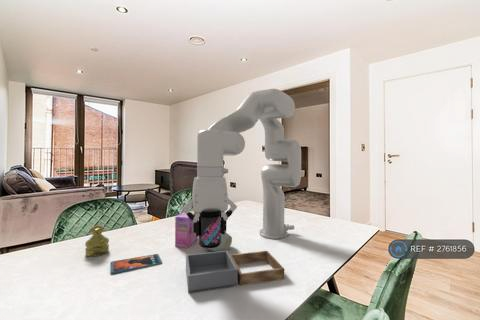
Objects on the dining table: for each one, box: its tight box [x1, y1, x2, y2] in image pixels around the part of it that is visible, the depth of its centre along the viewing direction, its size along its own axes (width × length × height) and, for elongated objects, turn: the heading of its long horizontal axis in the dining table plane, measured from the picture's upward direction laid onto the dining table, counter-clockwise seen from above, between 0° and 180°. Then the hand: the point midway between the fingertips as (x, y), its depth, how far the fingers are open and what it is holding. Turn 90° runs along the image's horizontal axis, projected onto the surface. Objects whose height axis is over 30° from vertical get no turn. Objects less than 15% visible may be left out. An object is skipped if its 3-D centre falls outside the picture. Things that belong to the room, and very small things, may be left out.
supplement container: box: [197, 210, 222, 249], centre depth 69 cm, size 7×7×10 cm
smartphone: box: [109, 253, 163, 275], centre depth 77 cm, size 8×1×15 cm
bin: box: [185, 250, 239, 294], centre depth 69 cm, size 13×13×4 cm
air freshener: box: [206, 229, 233, 252], centre depth 89 cm, size 11×8×10 cm
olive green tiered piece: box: [84, 224, 110, 258], centre depth 86 cm, size 7×7×10 cm
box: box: [174, 210, 198, 249], centre depth 96 cm, size 10×6×12 cm, turn 168°
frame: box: [229, 250, 285, 286], centre depth 73 cm, size 13×13×3 cm
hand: (209, 233), depth 69 cm, fingers closed on supplement container, 6 cm apart
